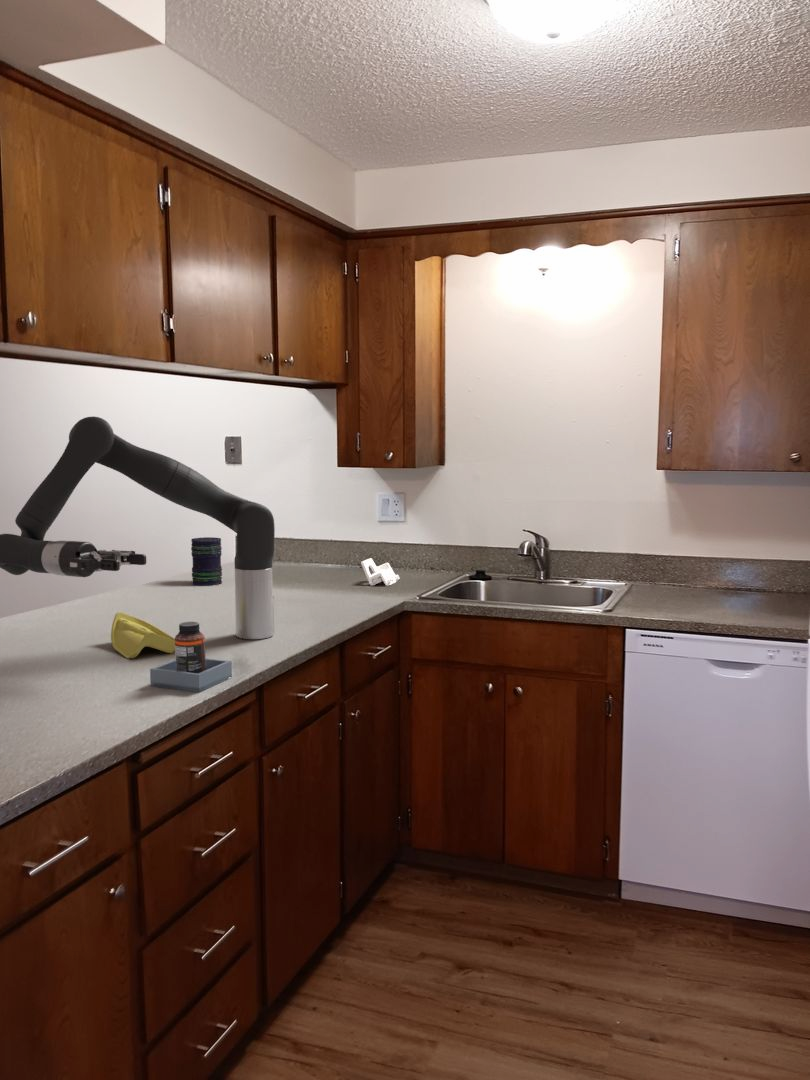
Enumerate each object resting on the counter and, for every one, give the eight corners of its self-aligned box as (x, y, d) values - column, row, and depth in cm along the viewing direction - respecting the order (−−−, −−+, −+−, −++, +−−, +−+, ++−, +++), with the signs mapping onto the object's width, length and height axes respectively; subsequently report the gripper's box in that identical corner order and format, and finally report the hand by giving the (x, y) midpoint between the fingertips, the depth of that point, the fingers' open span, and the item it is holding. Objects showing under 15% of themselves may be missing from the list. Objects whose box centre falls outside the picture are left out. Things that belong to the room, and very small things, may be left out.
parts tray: (184, 671, 193) (184, 655, 193) (231, 677, 189) (231, 661, 189) (150, 686, 183) (150, 668, 182) (199, 692, 178) (199, 674, 178)
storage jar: (186, 585, 300) (185, 540, 298) (199, 580, 310) (198, 537, 308) (214, 586, 298) (213, 541, 296) (227, 581, 308) (226, 537, 306)
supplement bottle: (195, 672, 190) (194, 618, 189) (211, 677, 186) (210, 623, 184) (170, 677, 186) (168, 623, 184) (186, 683, 182) (184, 627, 180)
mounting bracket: (384, 586, 312) (372, 557, 312) (400, 579, 310) (388, 550, 310) (373, 592, 301) (360, 562, 301) (389, 585, 299) (377, 555, 299)
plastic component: (182, 643, 210) (144, 629, 204) (168, 673, 209) (130, 660, 203) (148, 622, 225) (112, 609, 219) (136, 650, 224) (99, 637, 218)
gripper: (44, 545, 187) (108, 548, 181) (92, 537, 200) (153, 540, 194) (46, 581, 188) (110, 586, 182) (93, 570, 201) (154, 575, 195)
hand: (132, 562), depth 188 cm, fingers open, 8 cm apart
